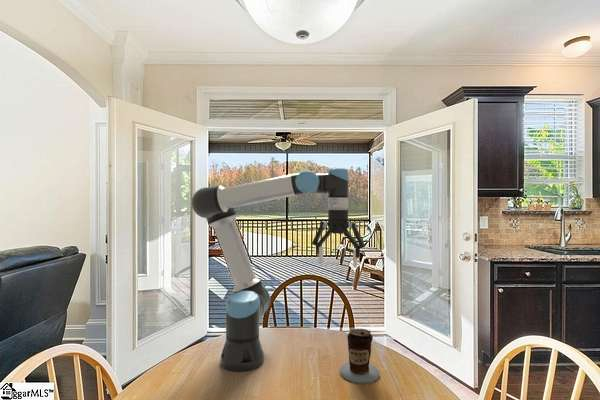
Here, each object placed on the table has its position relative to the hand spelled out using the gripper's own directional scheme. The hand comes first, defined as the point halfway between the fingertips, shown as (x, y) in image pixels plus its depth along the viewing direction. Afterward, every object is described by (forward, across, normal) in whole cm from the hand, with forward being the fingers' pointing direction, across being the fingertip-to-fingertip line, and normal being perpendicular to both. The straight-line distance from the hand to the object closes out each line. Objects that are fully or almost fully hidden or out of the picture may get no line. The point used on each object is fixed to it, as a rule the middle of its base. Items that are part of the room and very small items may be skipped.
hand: (337, 265), depth 132 cm
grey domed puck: (+33, +12, -13) cm, 37 cm away
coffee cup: (+32, +12, -13) cm, 37 cm away
